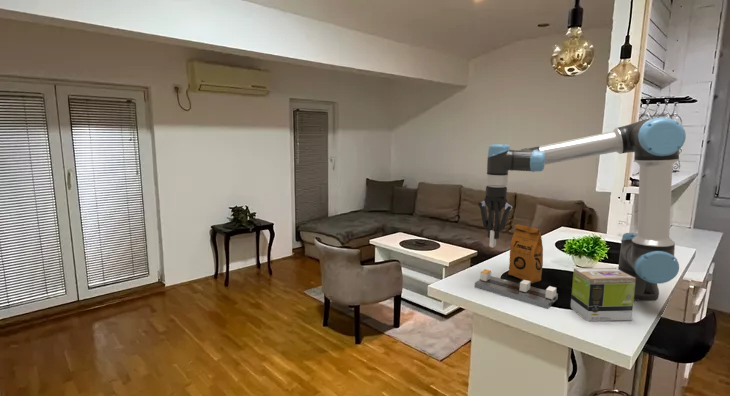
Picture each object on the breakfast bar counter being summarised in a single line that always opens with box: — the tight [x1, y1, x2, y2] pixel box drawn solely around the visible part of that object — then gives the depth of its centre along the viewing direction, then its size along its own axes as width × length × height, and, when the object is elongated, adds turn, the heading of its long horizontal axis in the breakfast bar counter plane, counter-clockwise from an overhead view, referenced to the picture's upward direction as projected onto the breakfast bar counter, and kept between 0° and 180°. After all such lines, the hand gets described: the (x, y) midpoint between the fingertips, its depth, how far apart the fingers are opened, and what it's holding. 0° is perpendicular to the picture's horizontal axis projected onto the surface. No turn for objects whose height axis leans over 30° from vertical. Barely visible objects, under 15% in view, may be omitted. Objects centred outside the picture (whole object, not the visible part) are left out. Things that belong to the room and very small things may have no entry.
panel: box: [474, 275, 559, 310], centre depth 145 cm, size 28×11×2 cm, turn 49°
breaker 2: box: [519, 280, 531, 292], centre depth 143 cm, size 2×4×3 cm, turn 139°
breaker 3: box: [545, 285, 557, 299], centre depth 137 cm, size 2×4×3 cm, turn 139°
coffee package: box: [508, 223, 544, 284], centre depth 159 cm, size 10×12×22 cm
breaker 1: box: [479, 268, 492, 281], centre depth 152 cm, size 2×4×3 cm, turn 139°
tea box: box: [570, 267, 636, 322], centre depth 128 cm, size 15×10×15 cm, turn 92°
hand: (492, 246), depth 149 cm, fingers closed
